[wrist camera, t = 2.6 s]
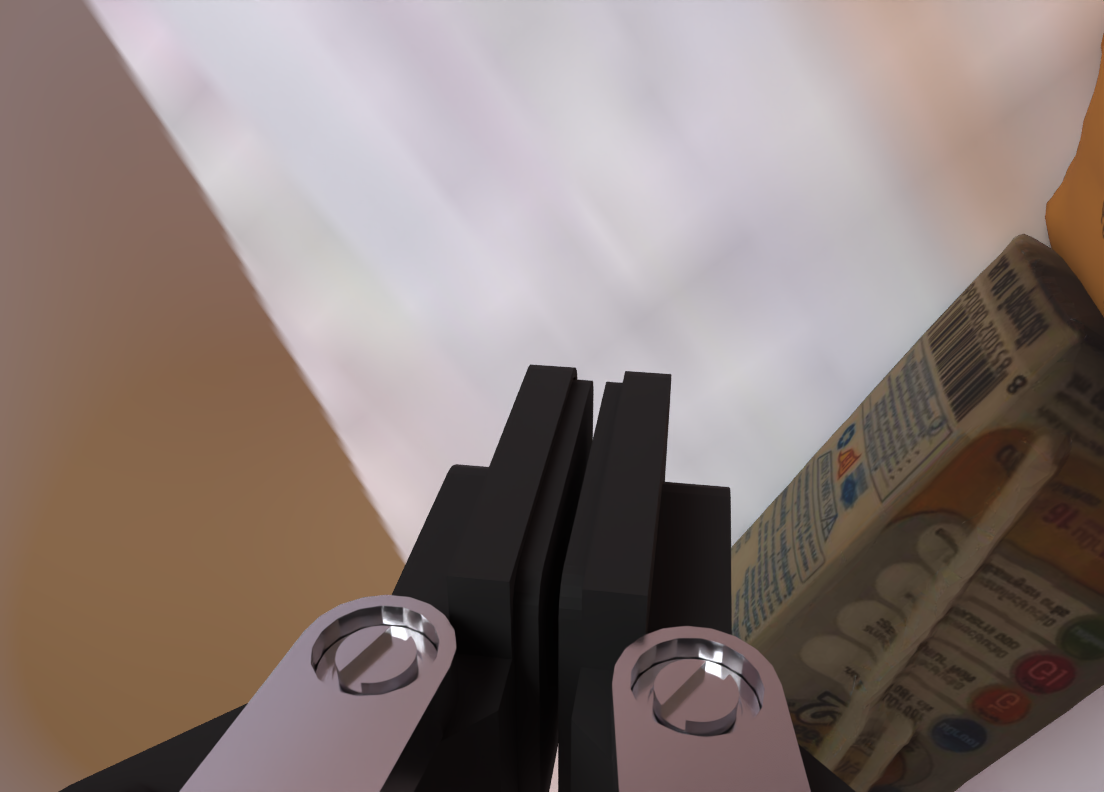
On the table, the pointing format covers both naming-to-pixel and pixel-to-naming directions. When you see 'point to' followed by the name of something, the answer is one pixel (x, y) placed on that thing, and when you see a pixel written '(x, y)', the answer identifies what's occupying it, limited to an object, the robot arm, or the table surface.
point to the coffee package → (1083, 203)
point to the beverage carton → (945, 543)
